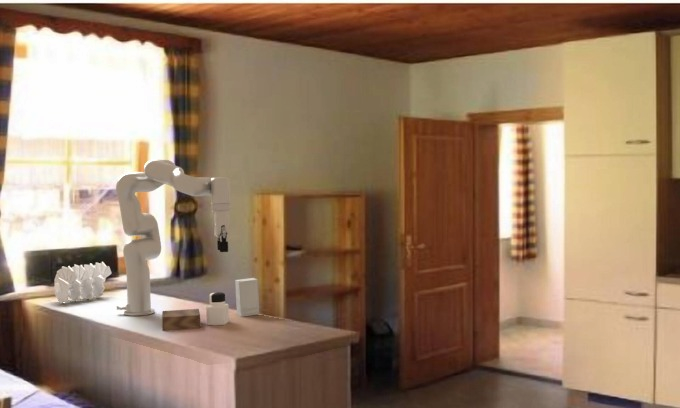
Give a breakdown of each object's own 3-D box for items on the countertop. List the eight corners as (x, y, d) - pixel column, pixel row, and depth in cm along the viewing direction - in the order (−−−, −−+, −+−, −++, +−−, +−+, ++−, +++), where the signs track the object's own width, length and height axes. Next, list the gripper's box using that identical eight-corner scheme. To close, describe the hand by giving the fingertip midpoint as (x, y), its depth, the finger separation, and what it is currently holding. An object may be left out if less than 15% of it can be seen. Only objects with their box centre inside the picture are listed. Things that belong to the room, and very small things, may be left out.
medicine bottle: (229, 321, 288) (228, 291, 288) (224, 325, 281) (223, 294, 281) (211, 321, 289) (210, 291, 288) (206, 325, 282) (205, 294, 281)
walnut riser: (162, 330, 273) (162, 317, 273) (162, 323, 287) (162, 311, 287) (200, 328, 277) (200, 314, 276) (199, 321, 290) (198, 308, 290)
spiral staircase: (53, 311, 344) (99, 301, 363) (71, 298, 333) (118, 288, 353) (41, 276, 347) (87, 267, 367) (59, 262, 337) (105, 254, 357)
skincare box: (255, 312, 306) (254, 277, 306) (259, 315, 301) (258, 279, 300) (235, 314, 302) (234, 279, 302) (240, 317, 297) (239, 280, 296)
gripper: (209, 208, 298) (211, 249, 299) (213, 209, 282) (215, 253, 282) (228, 207, 300) (229, 248, 301) (233, 208, 284) (234, 252, 284)
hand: (222, 250), depth 292 cm, fingers open, 9 cm apart
